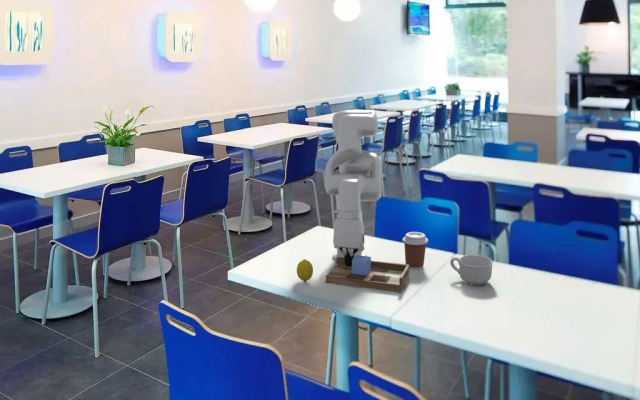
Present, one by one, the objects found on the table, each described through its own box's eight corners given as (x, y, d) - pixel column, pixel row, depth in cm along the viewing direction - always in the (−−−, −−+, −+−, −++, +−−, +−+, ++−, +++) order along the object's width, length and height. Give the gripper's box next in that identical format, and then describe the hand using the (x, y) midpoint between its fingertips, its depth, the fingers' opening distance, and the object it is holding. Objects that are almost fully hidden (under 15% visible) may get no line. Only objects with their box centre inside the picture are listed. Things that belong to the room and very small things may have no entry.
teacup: (497, 281, 190) (498, 259, 188) (481, 291, 182) (483, 267, 180) (460, 272, 199) (461, 250, 197) (443, 280, 191) (444, 258, 190)
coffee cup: (432, 267, 204) (433, 235, 201) (414, 272, 199) (415, 240, 196) (414, 260, 211) (415, 229, 209) (396, 265, 206) (397, 233, 204)
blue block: (357, 268, 196) (357, 255, 195) (370, 270, 194) (370, 256, 193) (352, 273, 192) (352, 259, 191) (365, 275, 190) (366, 261, 189)
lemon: (311, 285, 189) (310, 262, 187) (295, 284, 190) (294, 261, 188) (314, 279, 194) (314, 257, 192) (299, 278, 195) (298, 256, 193)
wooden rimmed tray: (337, 270, 202) (337, 256, 201) (409, 278, 194) (409, 264, 192) (325, 283, 190) (325, 269, 189) (401, 292, 182) (401, 277, 181)
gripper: (324, 215, 191) (325, 266, 195) (367, 218, 186) (366, 271, 190) (332, 210, 198) (332, 260, 202) (373, 213, 192) (372, 264, 196)
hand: (349, 265), depth 196 cm, fingers closed
